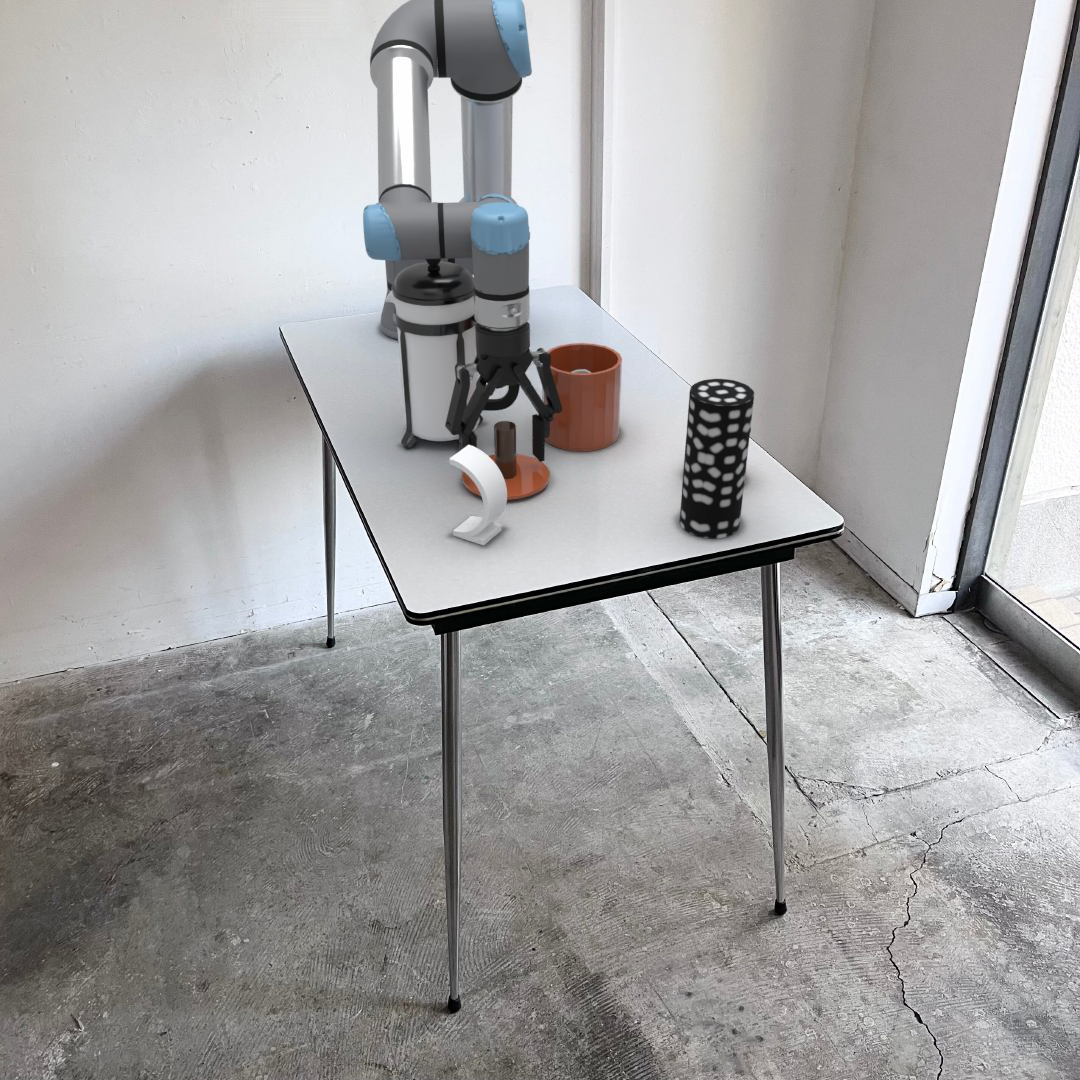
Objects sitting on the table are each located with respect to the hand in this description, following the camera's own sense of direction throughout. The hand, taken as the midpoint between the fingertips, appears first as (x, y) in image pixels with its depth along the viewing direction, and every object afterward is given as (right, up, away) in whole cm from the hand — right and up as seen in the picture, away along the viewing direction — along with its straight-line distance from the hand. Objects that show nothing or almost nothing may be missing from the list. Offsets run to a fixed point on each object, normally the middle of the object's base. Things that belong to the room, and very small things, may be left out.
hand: (505, 464), depth 161 cm
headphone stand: (-3, -10, -11) cm, 15 cm away
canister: (+12, +6, +14) cm, 19 cm away
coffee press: (-9, +6, +14) cm, 18 cm away
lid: (0, -2, +1) cm, 2 cm away
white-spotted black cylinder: (+29, -9, -9) cm, 31 cm away
